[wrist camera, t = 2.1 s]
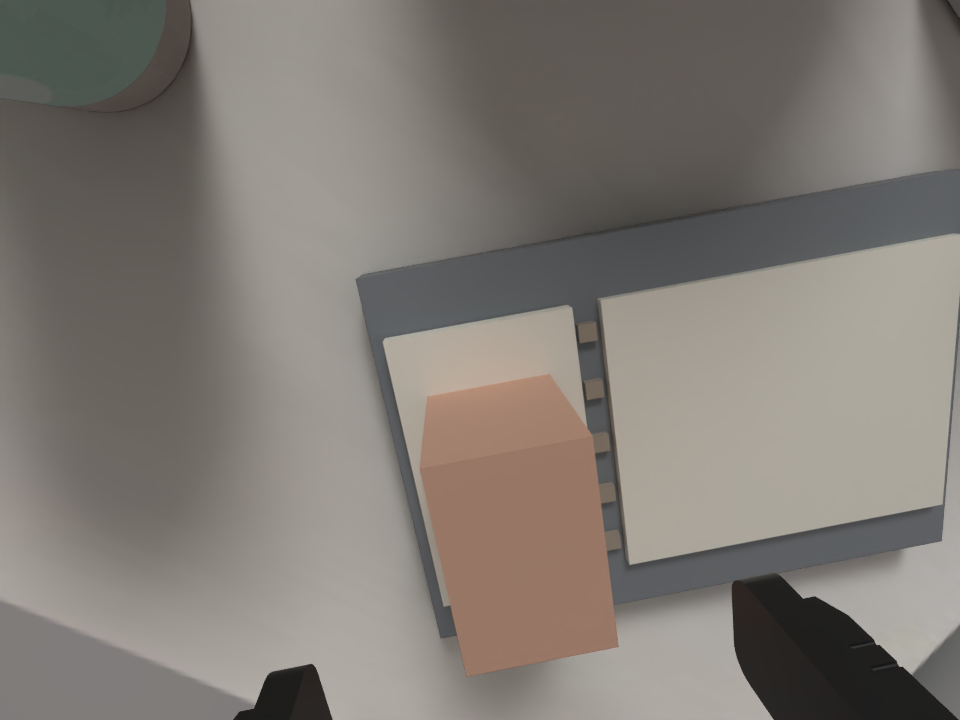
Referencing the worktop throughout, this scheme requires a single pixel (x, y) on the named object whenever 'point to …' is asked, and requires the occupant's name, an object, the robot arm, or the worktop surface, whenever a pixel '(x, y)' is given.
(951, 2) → the flask
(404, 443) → the board
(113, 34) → the coffee cup
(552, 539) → the ticket stub
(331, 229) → the worktop surface
